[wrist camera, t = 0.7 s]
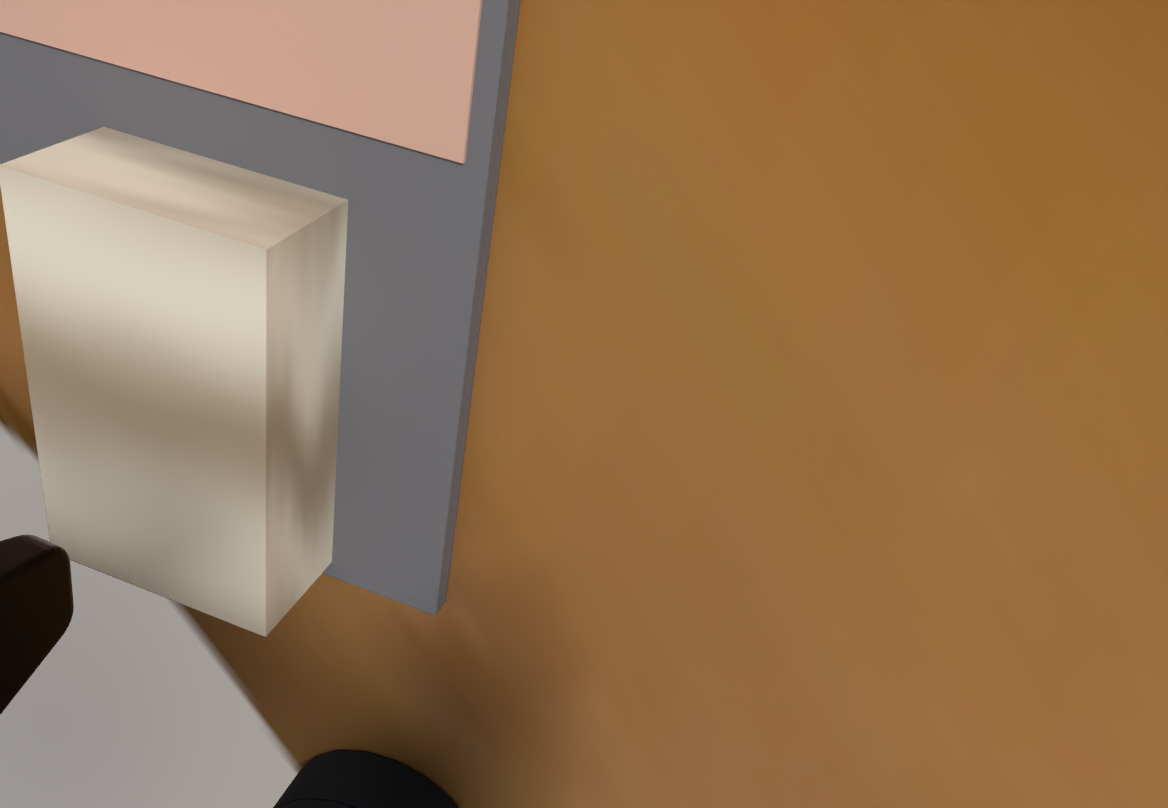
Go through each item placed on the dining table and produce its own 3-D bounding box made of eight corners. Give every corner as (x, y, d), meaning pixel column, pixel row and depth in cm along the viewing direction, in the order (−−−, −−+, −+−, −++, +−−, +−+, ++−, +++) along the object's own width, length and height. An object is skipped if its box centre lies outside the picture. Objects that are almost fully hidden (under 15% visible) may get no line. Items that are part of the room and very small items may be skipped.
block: (331, 561, 28) (265, 637, 25) (133, 487, 29) (51, 552, 26) (348, 199, 22) (266, 249, 20) (103, 126, 23) (-3, 165, 21)
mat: (446, 600, 28) (434, 618, 27) (58, 456, 30) (39, 469, 29) (569, -394, 16) (553, -402, 16) (-64, -502, 19) (-98, -512, 18)
